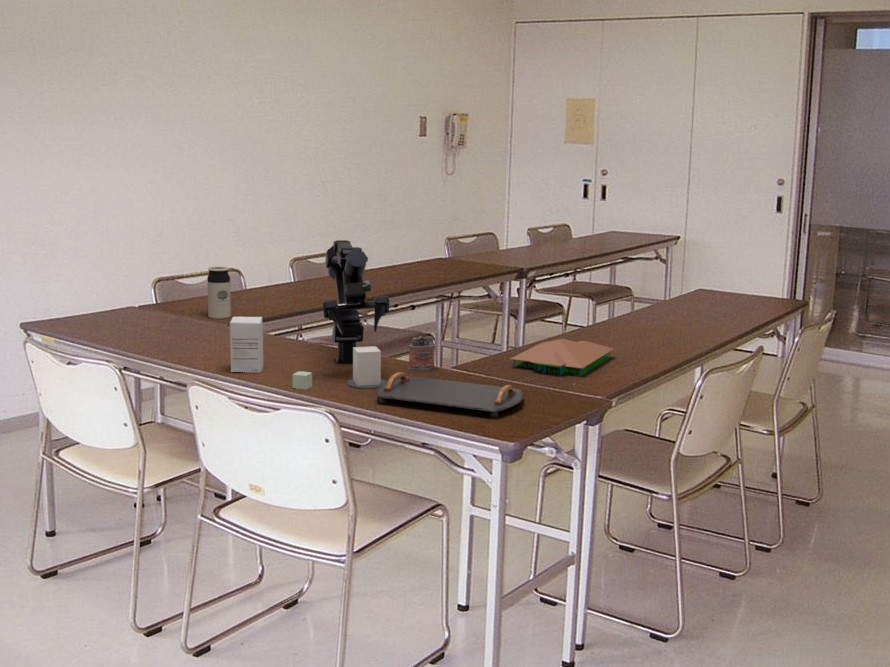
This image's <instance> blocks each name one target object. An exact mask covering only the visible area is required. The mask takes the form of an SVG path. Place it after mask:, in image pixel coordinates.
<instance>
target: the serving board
mask: <svg viewBox="0 0 890 667" xmlns="http://www.w3.org/2000/svg"><path fill="white" fill-rule="evenodd" d="M376 397H377V398H379V399H378V403H379V404H387V401H388V399H390V400H397V401H404V402H406V401H407V402H412V403H414V402H415V403H421V404H429V405H434V406H435V405H437V406H445V407H453V408H461V409H468V410H477V411H483V412H489V417H490V418H492V417H494V419H496V418H498V417H499V413H498V412H501V411H505V410H507V409H510V408H513V407H514V406H516V405H518V404H519V403H521V402H522V400H523V399H524V393H523V392H522V390H521V389H519V388H515V387H514V386H513V385H511V384H505V385H504V386H498V385H490V384H489V385H488V384H479V383H472V382H465V381H455V380H446V379H438V378H428V377H421V376H407V375H406V373H405V372H400V371H399V372H395V373H394V374H392V375H391V376H389V379H388V381H387V382H386V384H384V385H382V386H381V387H380V388H377V390H376Z"/></svg>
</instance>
